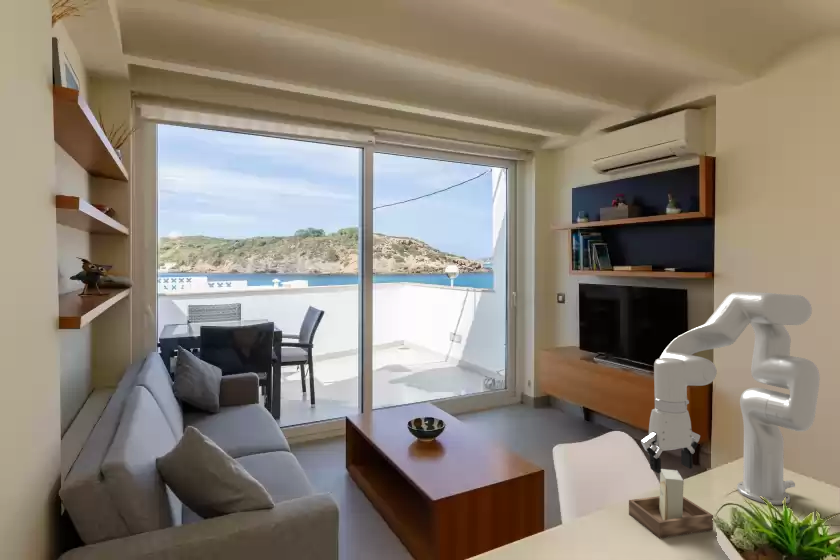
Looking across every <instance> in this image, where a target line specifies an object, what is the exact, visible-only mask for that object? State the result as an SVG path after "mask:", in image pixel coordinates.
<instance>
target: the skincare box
mask: <svg viewBox="0 0 840 560" xmlns="http://www.w3.org/2000/svg"><path fill="white" fill-rule="evenodd" d="M659 481H660V482H659V496H660V502H659V512H660V514H661V516H662V519H663V520H669V519H676V518H682V514H683V497H684V479H683V477H682V476H681V473H679V471H678V470H677V469H676V470H675V469H667V468H661V473H659Z"/></svg>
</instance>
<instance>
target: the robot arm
mask: <svg viewBox="0 0 840 560" xmlns="http://www.w3.org/2000/svg"><path fill="white" fill-rule="evenodd" d="M812 312H813V308H812V304H811V303H810V301H809V300H808V298H806V297H805V296H803V295H799V294H782V293H773V292H761V291H759V292H758V291H756V292H755V291H734V292H731V293H730V294H728V295H727V296H726V297H724V299H723V301H722V302H721V303H720V304H719V306H717V308H716V309H715V310H714V312H713V313H712V314H711V316H710V317H709V318H708V319H707V320H706V322H704V324H701V325H699V326H697V327H694V328H692V329H690V330H688V331H686V332H684V333H682V334H680V335H678V336H677V337H675V338H674V339H673V340H672V341H670V343H669V344H668V345H667V346H666V347H665V349H664V350H663V352H662V353H661V355H660V356H659V358H657V359H655V361H654V363H653V371H654V372H653V379H654V381H653V382H654V385H653V386H654V389H653V391H654V408H653V409H651V412H650V417H649V425H648V435H647V436H645V437H644V438H643V439H641V440H640V443H641V445H642V447H643V450H644V451H645V452H646V453H647V454H648V455H649V466H650V470H652V471H653V472H655V473H657V474H660V473H661V469H662V462H661V461H662V459H661V458H660V456H661V454H662V452H664V451H672V450H673V451H674V450H680V449H681V450H680V451H681V452H680V455H681V456H680V458H681V460H680V461H681V462H680V463H681V465H682V466H684V467H687V468H688V469H693V455H694V453H695V450H696V448H698V445H699V441H700V438H701V435H700V434H698V433H696V432H694V431H693V430H692V421H691V417H690V413H689V410H688V405H689V404H690V400H689V399H688V395H687V394H688V392H687V391H688V388H687V387H688V386H695V387H696V386H697V387H698V386H706V385H709V384H712V382H713V381H715V379H716V377H717V374H718V373H717V368H716V365H715V364H714V363H713V362H712V361H711V360H710V359H708V358H705V357H702V356H697V355H694V354H695V353H699V352H702V351H708V350H715V349H720V348H725V347H729V346H731V345H733V344H734V343H735V342H737V340H738V338H739V337H740V336H741V335H742V334H743V332H744V330H745V329H747V327H748V325H751V328H752V330H753V333H754V345H753V350H752V351H753V352H752V360H751V369H750V373H751V377H752V378H753V380H754V381H756V382H757V383H761V384H764V385H767V386H772V387H775V388H776V387H777V388H780V389H786V390H789V394H788V393H785V392H779V391H777V390H773V389H767V388H762V387H749V388H747V389H745V390H744V391H743V392H742V393H741V395H740V398H739V405H740V406H739V407H740V411H741V415H742V421H743V422H742V423H743V479H742V480H743V481H740V482H738V483H737V485H736V490H737V491H738V493H740V494H741V495H743V496H744V497H746V498H748V499H751V500H752V501H756V502H759V503H763V504H765V503H764V501H763V500H762V499H761V498H760V497H759V496H762V497H765V498H766V499H767V500H768V501H769V502H771V503H772V504H771V505H774V504H775V505H776V506H781V505H782V501H783V500H784V498H785V497H786V503H787V504H789V503H790V502H791V496H790V495H789V493H788V492H786V490H787V489H789V488H791V489H792V488H795V487H796V483H795V482H794V480H784V467H785V466H784V463H785V461H784V459H785V458H784V455H785V453H784V452H785V450H784V449H785V448H784V446H785V442H784V436H783V434H782V431H781V429H780V428H784V429H788V430H791V431H795V432H806V431H808V430H810V429H811V427H812V426H813V424H814V421H815V417H816V411H817V404H818V398H819V390H820V389H819V388H820V382H821V381H820V380H821V376H820V375H821V374H820V372H819V369H818V366H817V365H816V364H815V362H813V360H811V359H808V358H805V357H799V356H793V355H792V356H791V355H790V354H791V342H792V341H791V336H790V334H789V331H788V329H787V328H786V327H785V326H801V325H803V324H806V322H808V321H809V319H810V318H811V316H812ZM650 445H651V446H650Z"/></svg>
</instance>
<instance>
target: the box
mask: <svg viewBox="0 0 840 560" xmlns="http://www.w3.org/2000/svg"><path fill="white" fill-rule="evenodd" d="M659 502H660V495H658V496H651V497H644V498H643V497H642V498H636V499H635V498H634V499H629V500H628V515H629V516H630V517H631V518H633V520H635V521H636V522H638V523H639V524H640V525H641V526H643V527H644V528H645V529H646V530H648V531H649V532H651V533H652V535H654V536H655V537H656V538H658V539H666V538H675V537H679V536H685V535H687V536H688V535H693V534H698V533H706V532H712V531H714V515H713V514H712V513H711V512H708V511H707V510H705V509H704V508H702V507H701V506H700V505H698V504H696V503H695V502H693V501H692V500H689V498H687V497H684V496H683V514H682V518H676V519H669V520H663V519H662V516H661V514H660V512H659ZM712 518H713V520H712Z"/></svg>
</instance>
